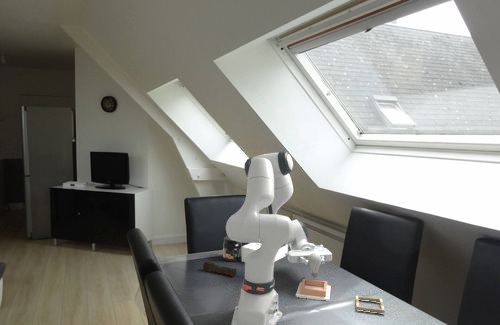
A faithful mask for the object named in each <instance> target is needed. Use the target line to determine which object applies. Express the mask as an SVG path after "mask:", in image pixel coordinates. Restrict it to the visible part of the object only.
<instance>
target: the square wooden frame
mask: <svg viewBox="0 0 500 325" xmlns="http://www.w3.org/2000/svg"><path fill="white" fill-rule="evenodd" d="M358 299H360V300H369V301H376V302H380V304H379V306H380V305H381V307H380V308H378V307H377V308H375V307H367V306H361V305H359V304H360V303H359V302H360V301H359V300H358ZM355 308H356V309H355V310H363V311H370V312H377V313H384V314H385V311H386V310H385V306H384V302H383V298H378V297H371V296H362V295H355Z"/></svg>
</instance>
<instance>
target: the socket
mask: <svg viewBox="0 0 500 325" xmlns="http://www.w3.org/2000/svg"><path fill="white" fill-rule="evenodd" d="M331 288H332V286H331V285H328V281H327V280H319V279H311V278H302V281H300V282H299V284H298V287H297V291H296V294H295V298H298V297H299V298H300V299H306V298H307V299H306V300H313V299H316V300H315V301H321V300H326V301H325V302H328V301H329V302H330V297H331V296H330V295H331Z"/></svg>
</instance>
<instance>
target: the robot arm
mask: <svg viewBox="0 0 500 325" xmlns="http://www.w3.org/2000/svg"><path fill="white" fill-rule="evenodd" d="M293 169H294V162H293V158H292V156H291V154H290V153H289V152H287V151H278V152H270V153H264V154H260V155H256V156H252V157H250V158H248V159H246V160H245V162H244V173H245V175H246V177H247V181H246V182H247V183H246V195H245V200H244V201H243V204H242V206H241V207H240V208H239V209H238V210H237V211H236V212H235V213H234V214H232V215H231V216H230V217H229V218H228V219H227V220H226V225H225V232H226V234H227V235H226V236H228V237H229V238H230V239H231V240H233V241H237V242H241V243H242V244H243V243H245V244H246V243H247V244H250V243H259V240H260V243H261V244H262V245H261V247H260V248H258V249H257V250H255V251H252V252H251V253H249V254H248V255H247V256H246V259H245V262H244V276H243V281H242V287H241V289H240V295H239V296H240V297H239V301H238V302H237V306H235V307H234V311H233V316H232V320H231V325H277V324H278V323H277V322H280V321H281V319H282V318H281V317H283V312H282V311H280V310H279V294H278V293H277V291H276V290H275V284H276V283H275V282H276V281H275V277H274V271H275V270H274V269H275V268H274V267H275V262H276V261H275V257H276V254H277V252H278V251H279V249H280V248H281V247H283V246H285V245H287V244H288V247H289V248H290V250H288V252H287V253H285V255H286V256H285V257H287V261H288V262H289V263H290V264H299V263H300V264H301V263H302V264H304V265H309V260H308V256H309V255H310V254H312V253H317V254H319V255H320V256H321V259H322V262H321V264H322V265H323V264H326V262H332V260H333V253H332V252H331V250H329V249H328V248H326V247H324V245H323V244H318V243H312V242H308V240H309V235H310V234H309V231H308V228H307V227H306V225H305V223H304V222H303V221H302V220H300V219H293V220H291V218H290V217H289V216H286V215H282V214H277V213H278V210H280V208H282V206H283V205H285V204H286V203H287V202H288V201H289V200H290V199H291V197H292V196H293V193H294V186H293V181H292V178H291V175H290V174H291V173H292V172H293ZM263 209H266V213H260V211H262V210H263ZM274 261H275V262H274Z"/></svg>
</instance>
